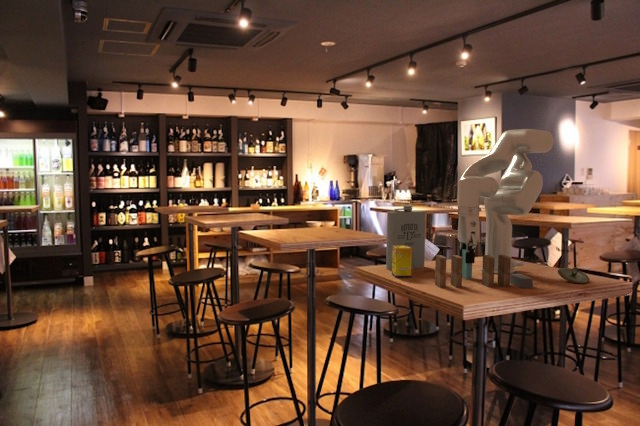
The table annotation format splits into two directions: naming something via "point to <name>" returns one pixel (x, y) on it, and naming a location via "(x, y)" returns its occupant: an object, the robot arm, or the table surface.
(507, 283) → the tile
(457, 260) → the tile
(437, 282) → the tile
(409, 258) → the supplement box
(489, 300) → the table surface
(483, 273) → the tile
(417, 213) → the flask
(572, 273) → the lid
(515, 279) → the block
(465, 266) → the tile
